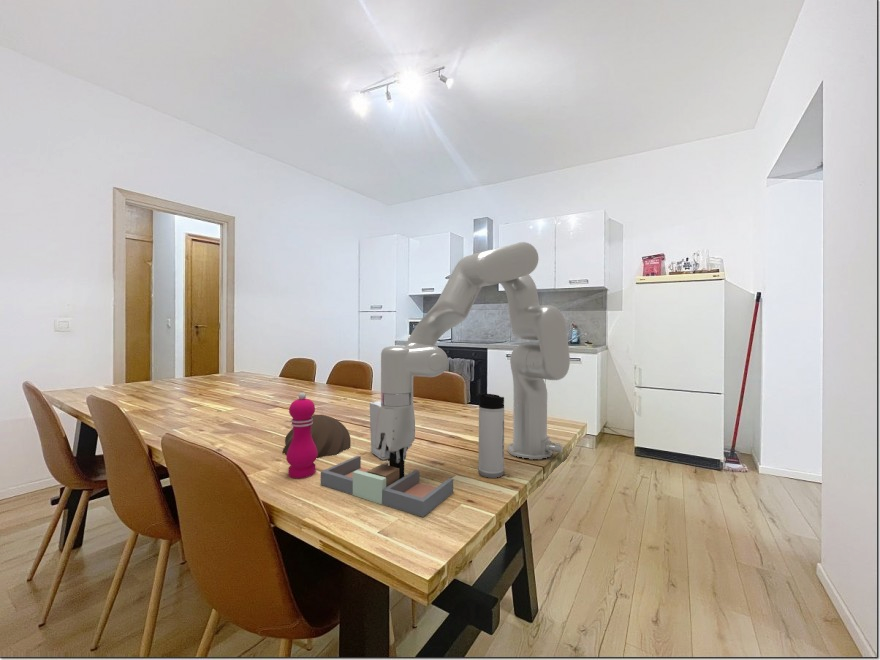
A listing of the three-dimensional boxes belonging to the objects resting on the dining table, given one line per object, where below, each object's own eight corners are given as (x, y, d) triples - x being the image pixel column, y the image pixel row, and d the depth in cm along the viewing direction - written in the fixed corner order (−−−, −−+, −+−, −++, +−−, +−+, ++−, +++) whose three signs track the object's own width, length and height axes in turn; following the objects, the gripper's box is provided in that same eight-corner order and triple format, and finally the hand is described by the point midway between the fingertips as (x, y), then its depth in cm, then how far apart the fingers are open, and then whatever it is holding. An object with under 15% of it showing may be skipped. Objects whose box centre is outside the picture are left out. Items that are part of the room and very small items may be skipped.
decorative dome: (267, 453, 105) (267, 418, 105) (317, 434, 123) (317, 405, 123) (317, 464, 97) (318, 426, 97) (364, 443, 115) (364, 411, 115)
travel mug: (472, 470, 93) (473, 391, 92) (495, 466, 95) (495, 390, 95) (485, 480, 87) (485, 396, 87) (508, 476, 89) (509, 394, 89)
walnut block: (399, 488, 82) (399, 468, 82) (385, 497, 78) (385, 476, 78) (382, 483, 85) (382, 463, 85) (367, 491, 81) (367, 471, 81)
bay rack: (453, 492, 80) (453, 469, 80) (422, 517, 70) (423, 491, 70) (357, 467, 95) (357, 447, 94) (320, 484, 84) (320, 463, 84)
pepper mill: (291, 468, 94) (291, 390, 94) (320, 467, 94) (320, 389, 94) (281, 479, 87) (282, 395, 86) (313, 478, 87) (313, 395, 87)
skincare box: (400, 456, 102) (401, 403, 102) (380, 461, 99) (381, 406, 99) (387, 448, 109) (388, 398, 109) (368, 452, 106) (369, 400, 106)
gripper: (402, 392, 94) (402, 463, 94) (363, 403, 81) (362, 485, 81) (427, 395, 90) (427, 469, 90) (390, 407, 77) (389, 493, 77)
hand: (396, 477), depth 86 cm, fingers closed
